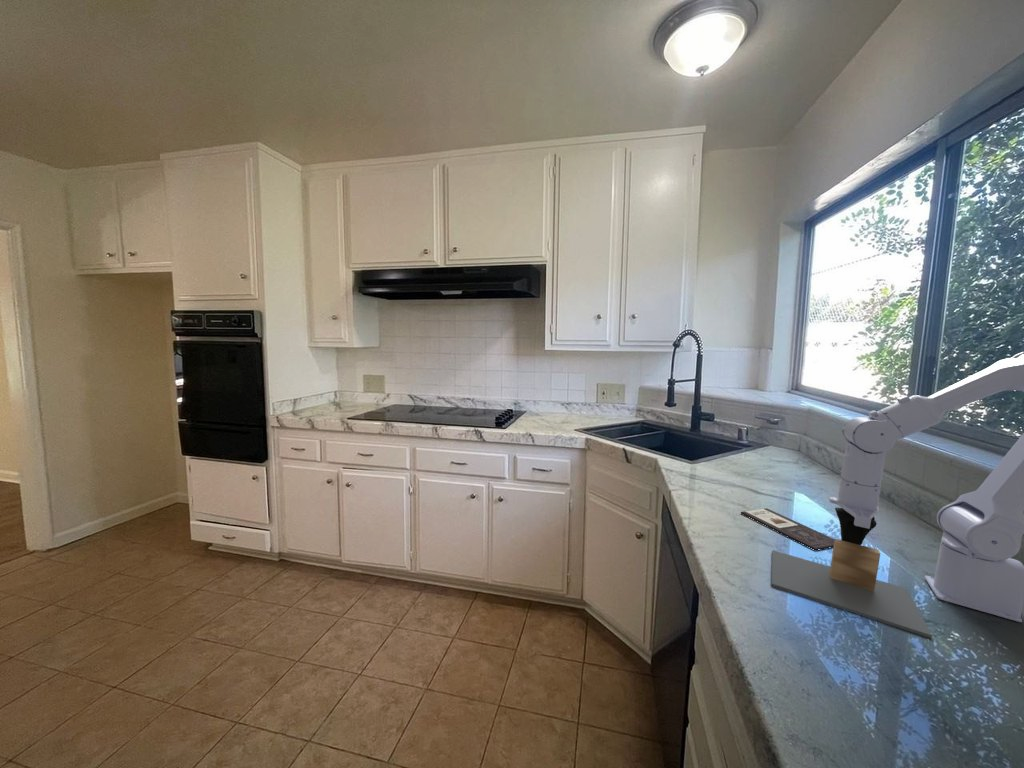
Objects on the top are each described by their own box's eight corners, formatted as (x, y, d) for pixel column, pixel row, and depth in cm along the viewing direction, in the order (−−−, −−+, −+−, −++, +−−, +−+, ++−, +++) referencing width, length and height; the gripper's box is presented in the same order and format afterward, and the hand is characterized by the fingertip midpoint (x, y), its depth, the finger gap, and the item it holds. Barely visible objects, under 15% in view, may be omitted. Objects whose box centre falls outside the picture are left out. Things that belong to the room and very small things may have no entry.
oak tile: (871, 585, 70) (877, 548, 69) (874, 591, 68) (880, 553, 67) (829, 573, 73) (834, 538, 72) (830, 578, 71) (835, 542, 71)
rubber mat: (905, 590, 70) (906, 588, 69) (931, 638, 58) (932, 635, 58) (772, 552, 81) (772, 550, 81) (771, 586, 69) (771, 583, 69)
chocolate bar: (815, 548, 82) (741, 511, 99) (814, 552, 82) (740, 515, 99) (843, 543, 85) (766, 508, 102) (843, 547, 85) (766, 511, 102)
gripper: (828, 466, 81) (820, 528, 83) (837, 486, 69) (827, 558, 71) (874, 474, 77) (864, 539, 79) (891, 497, 65) (879, 572, 67)
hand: (849, 549), depth 75 cm, fingers closed
